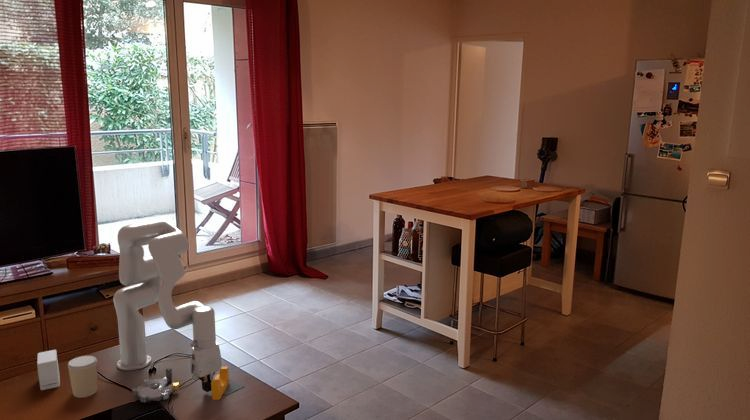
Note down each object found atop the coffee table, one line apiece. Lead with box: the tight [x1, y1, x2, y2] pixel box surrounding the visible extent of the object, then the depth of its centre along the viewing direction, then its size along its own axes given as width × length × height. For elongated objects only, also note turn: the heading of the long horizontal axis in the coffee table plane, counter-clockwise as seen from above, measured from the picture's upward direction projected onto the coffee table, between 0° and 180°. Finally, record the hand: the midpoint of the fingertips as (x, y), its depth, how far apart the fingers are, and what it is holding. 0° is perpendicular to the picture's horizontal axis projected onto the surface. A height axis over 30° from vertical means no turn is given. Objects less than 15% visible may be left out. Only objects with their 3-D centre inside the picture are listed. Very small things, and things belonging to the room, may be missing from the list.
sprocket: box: [131, 367, 180, 403], centre depth 205 cm, size 15×14×7 cm
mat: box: [223, 378, 245, 396], centre depth 213 cm, size 12×8×1 cm, turn 51°
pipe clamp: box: [211, 365, 230, 401], centre depth 209 cm, size 12×4×6 cm, turn 178°
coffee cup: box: [67, 355, 98, 398], centre depth 206 cm, size 9×9×12 cm
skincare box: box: [36, 349, 61, 391], centre depth 213 cm, size 10×6×10 cm, turn 29°
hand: (207, 390), depth 207 cm, fingers closed
